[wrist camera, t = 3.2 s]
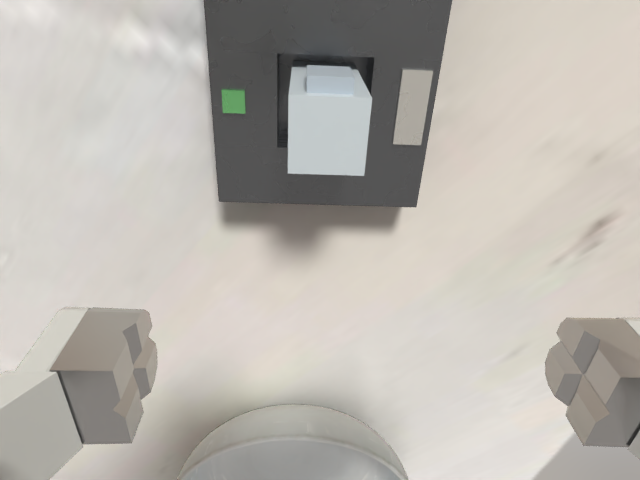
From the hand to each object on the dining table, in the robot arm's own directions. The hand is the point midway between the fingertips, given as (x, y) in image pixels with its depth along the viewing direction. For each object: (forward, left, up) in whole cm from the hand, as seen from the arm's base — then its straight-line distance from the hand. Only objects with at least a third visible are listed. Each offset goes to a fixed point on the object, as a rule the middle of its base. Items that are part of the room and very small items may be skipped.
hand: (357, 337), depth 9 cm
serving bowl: (-34, +1, -21) cm, 40 cm away
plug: (0, 0, -20) cm, 21 cm away
